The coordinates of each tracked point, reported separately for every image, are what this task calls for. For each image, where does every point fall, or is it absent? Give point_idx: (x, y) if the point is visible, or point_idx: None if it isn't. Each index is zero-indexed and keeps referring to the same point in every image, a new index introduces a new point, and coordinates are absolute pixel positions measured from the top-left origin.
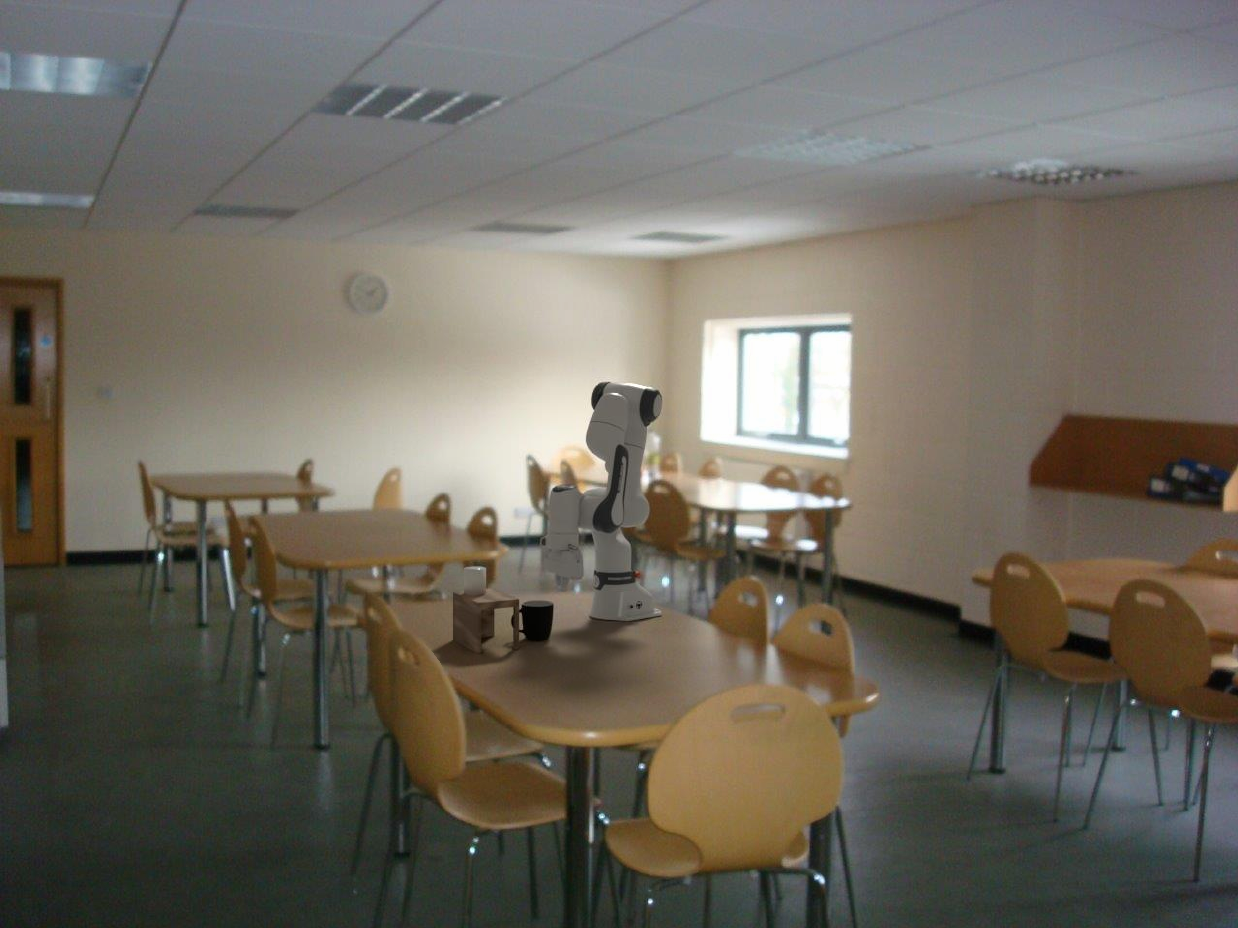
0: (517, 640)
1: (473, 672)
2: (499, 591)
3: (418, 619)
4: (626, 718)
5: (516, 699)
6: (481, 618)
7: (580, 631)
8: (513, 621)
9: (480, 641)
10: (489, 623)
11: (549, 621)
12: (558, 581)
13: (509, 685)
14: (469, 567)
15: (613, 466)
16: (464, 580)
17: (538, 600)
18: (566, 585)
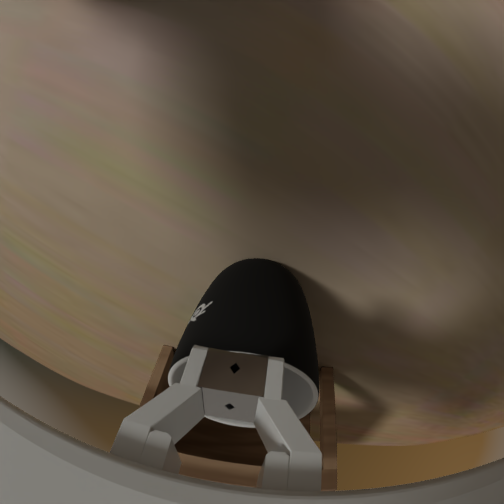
0: (332, 387)
1: (398, 436)
2: (179, 474)
3: (18, 343)
4: None
5: (499, 419)
6: None
7: (227, 88)
8: (321, 433)
9: (309, 434)
10: (164, 382)
11: (312, 328)
12: (184, 426)
13: (472, 419)
14: None
15: None
16: None
17: (176, 368)
18: (281, 399)
